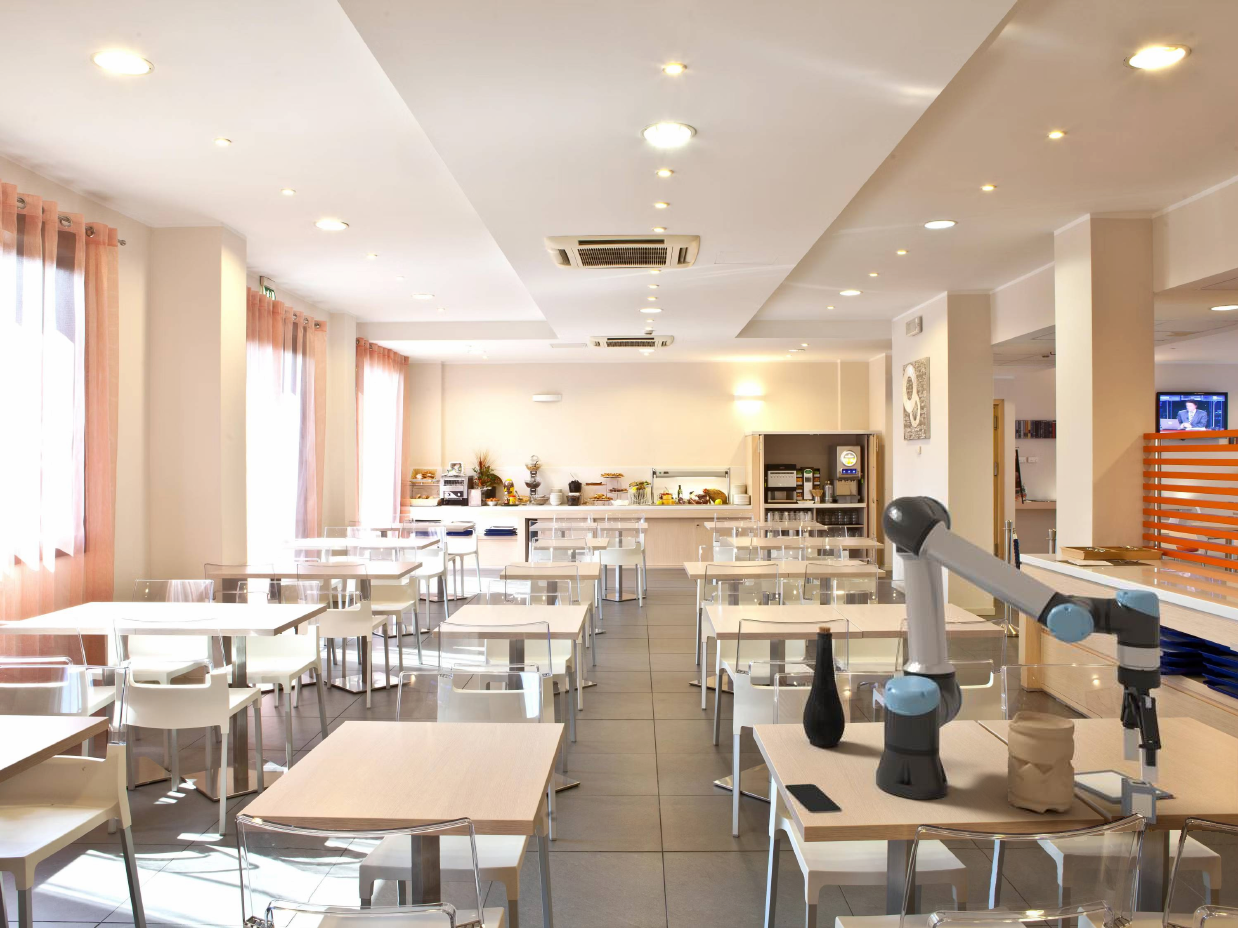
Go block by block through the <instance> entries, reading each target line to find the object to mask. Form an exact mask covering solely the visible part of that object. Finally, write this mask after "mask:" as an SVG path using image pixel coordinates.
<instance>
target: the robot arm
mask: <svg viewBox="0 0 1238 928" xmlns="http://www.w3.org/2000/svg"><path fill="white" fill-rule="evenodd" d="M882 512H883V513H882V515H881V523H880V524H881V527H882V528H881V529H882V531H883V533H884V535H885V536H886V538H888V540H889V541H890V542H892V543H893V544H894V545H895V553H896V555H897V556H898V557H900V558H901V559H902V561H903V562H902V563H903V579H904V581H903V582H904V593H905V596H904V597H905V598H904V599H905V609H906V610H905V611H906V626H907V628H906V629H907V644H908V645H907V647H908V661H907V663H905V665H903V667H902V674H903V676H896V677H893V678H891V679H890V680H888V681H887V683H886V684H885V687H884V693H883V702H884V705H883V706H884V708H883V709H884V712H883V716H884V717H883V719H884V720H883V721H884V723H883V726H884V727H883V729H884V731H883V740H884V742H883V743H884V744H883V746H884V747H883V751H882V754H881V757H880V759H879V763H878V766H877V768H876V771H875V784H876V786H877V787H878V788H879V789H881V790H882V791H884V792H886V793H889V794H891V795H894V796H898V797H902V798H908V799H916V800H935V799H936V800H937V799H940V798H944V797H945V796H946V795H947V794H948V791H949V790H948V788H949V787H948V786H949V785H948V783H949V782H948V778H947V775H946V772H945V769H944V766H943V763H942V760H941V755H940V732H941V731H940V729H941V728H942V727H944V726H945V725H947V724H948V723H950V722H952V721H953V719H955V718H956V717H957V715H958V714H959V713H960V711H961V708H962V705H963V691H962V689H961V686H960V685H959V683H958V682H957V679H956V668H955V666H953V665H952V664H951V663H950V661H949V660H948V659H949V658H948V647H947V646H948V644H947V629H946V614H945V597H944V582H943V568H945V569H946V570H949V571H950V572H952V573H953V574H955V575H956V576H958V577H960V578H961V579H962V578H963V580H965V581H966V582H968V583H971V584H972V585H974V586H975V587H977V588H979V589H980V590H982V591H984V592H985V593H987V594H989V595H991V596H992V597H994V598H996V599H998V600H999V601H1001V602H1003V603H1005V604H1006V605H1008V606H1009V607H1011V608H1013V609H1015V610H1016V611H1018V612H1019V613H1021V614H1023V615H1025V617H1026V616H1027V617H1028V618H1030V619H1031V620H1033V621H1034V622H1037V623H1038V624H1039V625H1041V626H1043V627H1045V628H1046V629H1047V630H1049V632H1050V633H1051V635H1052V636H1053V637H1054V638H1055V639H1057V640H1059V642H1060V641H1061V642H1063V643H1067V644H1073V643H1079V642H1083V641H1084V640H1086V639H1087V638H1089V637H1090V636H1091V634H1103V635H1111V636H1112V635H1114V636H1115V635H1116V662H1117V663H1118V664H1119V665H1117V666H1116V669H1117V674H1116V675H1117V682H1118V683H1119V684H1120V685H1122V686H1123V694H1122V695H1123V696H1122V702H1121V709H1120V710H1121V711H1120V718H1119V719H1120V722H1121V724H1122V727H1123V728H1122V731H1123V732H1122V734H1123V736H1122V738H1123V760H1124V761H1130V762H1140V780H1141V781H1143V782H1151V783H1152V784H1154V783H1155V784H1159V766H1158V765H1159V761H1158V758H1159V756H1158V755H1159V754H1158V753H1159V752H1158V751H1159V750H1162V743H1161V737H1160V730H1159V729H1160V728H1159V722H1158V716H1157V715H1158V714H1157V706H1156V702H1157V700H1156V698H1155V696H1154V697H1153V696H1151V693H1150V690H1156V689H1159V688H1161V685H1162V683H1161V682H1162V681H1161V679H1162V677H1161V672H1162V671H1161V670H1160V669H1159V667H1160V666H1161V658H1160V657H1162V656H1163V655H1164V652H1163V651H1162V650H1161V639H1160V638H1161V613H1160V600H1159V596H1158V595H1157V594H1156V593H1155V592H1153V591H1150V590H1145V589H1143V590H1142V589H1118V590H1117V591H1116V595H1115V597H1112V598H1106V597H1105V598H1104V597H1093V596H1082V595H1074V594H1067V595H1065V594H1063V593H1060V592H1059V591H1057V590H1056V589H1054V588H1052V587H1050V586H1049V585H1047V584H1045V583H1043V582H1042V581H1040V580H1038V579H1036V578H1034V577H1033V576H1031V575H1029V574H1027V573H1026V572H1024V571H1022V570H1021V569H1019V568H1017V567H1015V566H1013V565H1012V564H1010V563H1008V562H1006V561H1004V560H1003V559H1001V558H999V557H997V556H996V555H994V554H992V553H990V552H988V551H987V550H985V549H983V548H982V547H980V546H978V545H976V544H974V543H973V542H971V541H969V540H968V539H966V538H964V537H963V536H960V535H958V534H956V533H955V532H953V531H951V527H952V519H951V518H952V517H951V515H950V512H949V510H948V509H947V507H946V506H945V505H944V504H943V503H942V502H940V501H939V500H938V499H936V498H932V497H930V496H926V495H925V496H923V495H917V496H901V497H898V498H895V499H893V500H891V502H889V503H888V504H887V505H886V506H885V509H884V510H883V511H882ZM942 567H943V568H942ZM1140 740H1141V743H1140Z"/></svg>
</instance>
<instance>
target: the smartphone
mask: <svg viewBox="0 0 1238 928" xmlns="http://www.w3.org/2000/svg"><path fill="white" fill-rule="evenodd" d="M784 788H785V790H786V791H787V792H788V793H789V794H790V795H791V796H792V797H793V798H794V799H795V800H796V801H797V802H798V803H799V804H800V805H801V806H802V807H803V809H804V810H806V811H807V812H808V813H810V814H815V813H816V814H818V813H819V814H822V813H823V814H824V813H839V812H841V811H842V809H841V807H840V806H839V805H837V803H835V801H833V800H832V799H831V798H830V797H829V796H828V795H827V794H826V793H825V792H824V791H823V790H821V789H820V788H819V787H818V786H817V785H816V784H812V783H805V784H804V783H803V784H801V783H800V784H799V783H798V784H786V785H784Z"/></svg>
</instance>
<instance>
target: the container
mask: <svg viewBox="0 0 1238 928" xmlns="http://www.w3.org/2000/svg"><path fill="white" fill-rule="evenodd" d="M1008 728H1009V730H1007V752H1008V758H1007V788H1008V790H1007V799H1008V803H1009V804H1011V806H1014V807H1015V808H1016V809H1017V808H1021V809H1028V810H1032V811H1034V812H1037V813H1041V814H1043V813H1045V811H1046V810H1051V811H1054V812H1057V813H1062V812H1066V811H1068V810H1069V809H1070V808H1071V807H1072V805H1073V804H1074V799H1075V786H1074V773H1075V767H1073V765H1072V762H1071V761H1073V759H1074V754H1075V739H1074V734H1075V722H1073V721H1072V720H1071V719H1069V718H1067V717H1064V716H1060V715H1056V714H1053V713H1052V714H1051V713H1047V712H1045V713H1043V712H1037V711H1026V710H1025V711H1017V713H1015V715H1014V716H1013V718H1012V720H1010V721H1009V722H1008Z"/></svg>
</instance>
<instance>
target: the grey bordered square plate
mask: <svg viewBox="0 0 1238 928" xmlns="http://www.w3.org/2000/svg"><path fill="white" fill-rule="evenodd" d="M1121 777H1122V778H1130V779H1134V778H1133V777H1130V776H1128V775H1126V774H1124V773H1120V772H1119V771H1116V770H1114V769H1106V770H1105V769H1104V770H1094V771H1093V770H1092V771H1085V772H1084V771H1083V772H1074V787H1076V788H1079V789H1080V790H1083V791H1084V792H1087V793H1089V794H1091V795H1093V796H1095V797H1099V798H1100V799H1102V800H1105V801H1107V802H1109V803H1111V804H1113V805H1114V804H1115V805H1116V804H1121ZM1155 788H1156V800H1160V798H1164V799H1167V798H1166V797H1173V798H1174V794H1172V793H1170V792H1168V791H1165V790H1162V789H1160V788H1158V787H1155Z"/></svg>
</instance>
